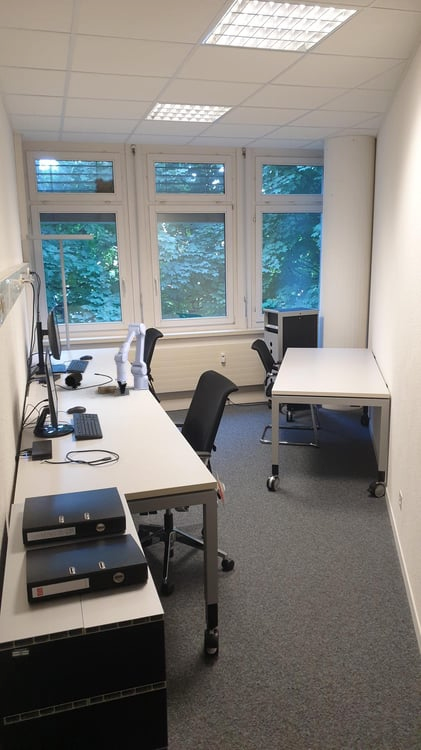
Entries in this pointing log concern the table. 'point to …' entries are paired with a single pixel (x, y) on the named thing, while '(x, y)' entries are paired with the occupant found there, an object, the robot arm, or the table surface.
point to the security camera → (74, 380)
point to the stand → (107, 389)
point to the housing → (120, 391)
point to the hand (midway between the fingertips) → (122, 392)
